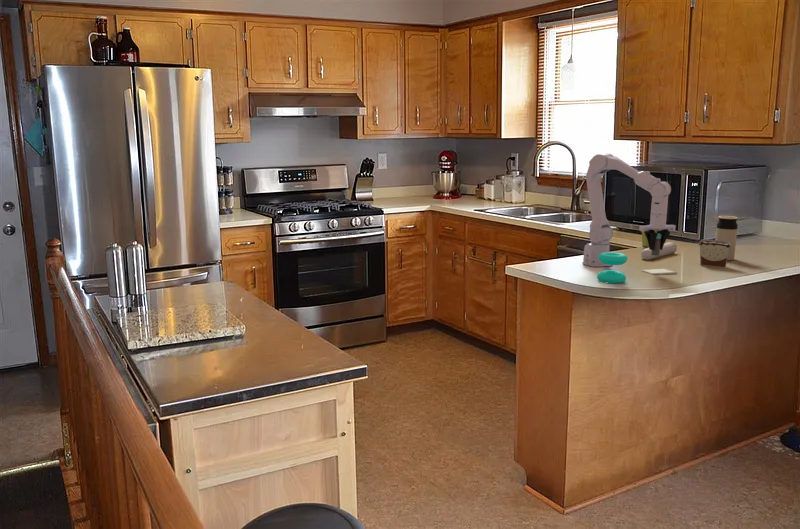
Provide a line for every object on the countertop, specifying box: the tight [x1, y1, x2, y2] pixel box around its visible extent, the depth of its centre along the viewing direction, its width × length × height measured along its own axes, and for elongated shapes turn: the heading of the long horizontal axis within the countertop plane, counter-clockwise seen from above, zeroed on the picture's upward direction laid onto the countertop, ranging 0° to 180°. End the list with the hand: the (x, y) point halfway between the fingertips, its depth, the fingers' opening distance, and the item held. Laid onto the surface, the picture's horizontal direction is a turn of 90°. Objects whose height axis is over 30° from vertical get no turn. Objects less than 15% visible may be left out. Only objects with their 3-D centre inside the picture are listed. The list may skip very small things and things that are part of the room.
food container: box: [698, 239, 732, 269], centre depth 289 cm, size 12×6×10 cm, turn 59°
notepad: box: [641, 268, 678, 276], centre depth 274 cm, size 10×8×1 cm
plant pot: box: [640, 231, 657, 248], centre depth 332 cm, size 9×9×9 cm
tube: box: [640, 241, 678, 261], centre depth 308 cm, size 5×5×25 cm
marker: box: [651, 234, 662, 256], centre depth 272 cm, size 3×3×8 cm
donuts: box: [596, 251, 628, 284], centre depth 257 cm, size 10×10×10 cm
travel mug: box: [714, 215, 738, 261], centre depth 302 cm, size 8×8×18 cm
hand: (655, 249), depth 272 cm, fingers closed on marker, 3 cm apart
